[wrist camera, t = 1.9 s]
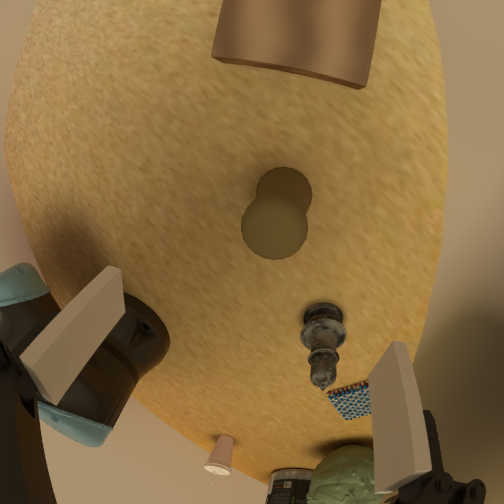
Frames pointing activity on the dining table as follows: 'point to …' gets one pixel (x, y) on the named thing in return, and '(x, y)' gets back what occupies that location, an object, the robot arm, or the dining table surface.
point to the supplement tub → (289, 486)
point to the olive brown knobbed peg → (278, 214)
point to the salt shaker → (323, 341)
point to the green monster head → (344, 477)
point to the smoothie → (221, 457)
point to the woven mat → (352, 400)
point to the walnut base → (300, 37)
